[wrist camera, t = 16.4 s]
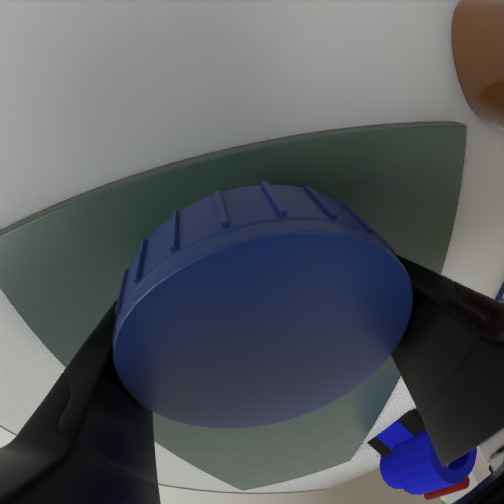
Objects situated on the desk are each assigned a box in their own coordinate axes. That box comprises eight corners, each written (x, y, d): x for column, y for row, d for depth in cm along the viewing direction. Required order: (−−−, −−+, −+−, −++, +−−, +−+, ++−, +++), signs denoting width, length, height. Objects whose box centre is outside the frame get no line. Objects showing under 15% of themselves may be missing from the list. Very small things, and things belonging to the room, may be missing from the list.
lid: (301, 382, 10) (316, 424, 9) (112, 364, 8) (107, 418, 6) (416, 233, 7) (459, 275, 6) (160, 133, 5) (144, 162, 3)
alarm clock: (457, 389, 31) (497, 462, 19) (409, 430, 37) (439, 495, 25) (412, 408, 27) (457, 501, 15) (358, 448, 33) (389, 527, 21)
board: (-17, 239, 7) (-25, 248, 6) (456, 121, 8) (466, 125, 8) (241, 487, 35) (242, 490, 34) (349, 457, 36) (350, 460, 36)
